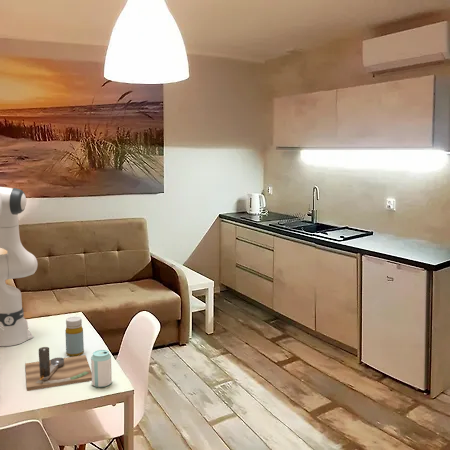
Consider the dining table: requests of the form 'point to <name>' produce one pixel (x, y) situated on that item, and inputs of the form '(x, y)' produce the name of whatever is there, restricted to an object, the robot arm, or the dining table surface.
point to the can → (101, 368)
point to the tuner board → (59, 373)
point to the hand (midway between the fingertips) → (2, 331)
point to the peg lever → (48, 363)
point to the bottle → (74, 336)
